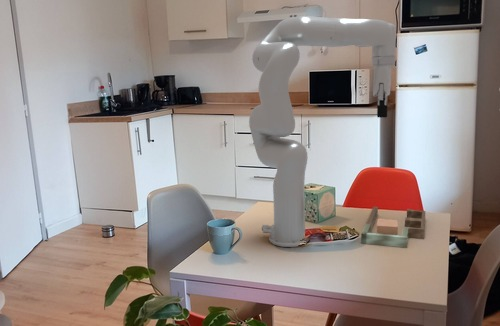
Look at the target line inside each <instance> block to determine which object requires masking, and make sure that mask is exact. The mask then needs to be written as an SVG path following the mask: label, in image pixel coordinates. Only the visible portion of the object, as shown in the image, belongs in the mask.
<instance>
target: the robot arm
mask: <svg viewBox="0 0 500 326" xmlns="http://www.w3.org/2000/svg"><path fill="white" fill-rule="evenodd" d="M396 33H397V27H396V25H395V24H394V23H389V22H388V21H385V20H384V19H383V20H382V19H381V20H380V19H371V18H370V19H368V18H367V19H366V18H347V17H345V18H341V17H337V18H336V17H325V16H314V15H313V16H312V15H300V16H294V17H288V18H284V19H283V20H281V21H280V22H279V23H277V24H276V26H275V27H273V28H272V29H271V30H270V31H269V33H267V35H265V37H264V38H263V39H262V40H261V41H260V42H259V43H258V44H257V45H256V47H255V48H254V51H253V53H252V59H251V60H252V63H253V66H254V67H255V68H256V70H258V71H260V72H262V73H261V75H260V78H259V81H258V82H259V83H258V96H259V100H260V104H258V105H256V106H255V107H254V108H253V109H252V110H251V112H250V115H249V120H248V124H249V130H250V134H251V137H252V138H251V139H252V141H253V146H254V149H255V152H256V155H257V157H258V158H257V159H258V160H259V161H260V162H261V163H262V164H263V165H264V166H265V167H270V168H273V169H276V173H275V176H274V179H273V183H272V188H273V189H272V192H273V193H272V194H273V196H272V197H273V224H272V225H268V224H262V225H261V231H262V232H263V234H270V235H269V239H268V240H269V242H270V243H271V244H273V245H274V246H277V247H281V248H282V247H283V248H297V247H299V246H298V244H300V243H304V242H306V241H300V240H302V239H303V238H304V237H305V233H306V214H305V213H306V209H305V207H306V205H305V202H306V201H305V199H306V198H305V179H306V177H305V176H306V169H307V164H308V157H309V156H308V152H307V149H306V147H305V145H303V143H301V142H300V141H297V140H294V139H289V138H286V137H289V136H290V135H292V134H293V133H294V131H295V128H296V121H295V115H294V111H293V110H294V109H293V107H292V101H291V98H290V94H289V93H290V92H289V81H290V78H291V76H292V74H293V72H294V70H295V69H296V67H297V65H298V64H299V61H300V58H301V57H300V54H301V53H300V49H299V48H298V47H300V46H301V47H302V46H304V47H305V46H307V47H330V48H331V47H332V48H335V47H336V48H337V47H340V48H341V47H349V46H350V47H351V46H355V47H358V48H367V47H368V48H369V47H371V68H372V67H373V69H374V70H373V71H374V72H373V84H372V85H373V86H372V96H373V97H377V108H376V109H377V110H376V117H377V118H388V96H390V95H391V85H392V67H396V46H397V45H396V44H397V43H396V41H397V40H396V39H397V35H396Z"/></svg>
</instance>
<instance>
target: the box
mask: <svg viewBox="0 0 500 326" xmlns="http://www.w3.org/2000/svg"><path fill="white" fill-rule="evenodd" d="M378 210H379V208H378V206H373V207H372V209H371V212H370V214H369V216H368V218H367V221H366V222H365V224H364V227H363V229H362V232H361V234H360V235H361V237H360V238H361V239H360V243H361V244H364V245H366V244H367V245H376V246H386V247H397V248H408V242H409V238H410V239H411V238H412V239H420V240H421V239H423V240H424V238H425V226H426V225H425V224H426V210H416V209H415V210H414V209H412V208H407V209H406V217H405V218H404V226H403V227H402V232H401V235H399V234H398V235H388V234H377V232H374V233H373V232H372V230H373V229H374V225H375V223H376V220H377V219H378Z"/></svg>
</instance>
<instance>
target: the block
mask: <svg viewBox="0 0 500 326" xmlns="http://www.w3.org/2000/svg"><path fill="white" fill-rule="evenodd" d="M376 220H377V223H376V233H377V234H388V235H399V234H398V232H399V231H398V227H399V225H398V219H391V218H390V219H389V218H388V219H387V218H377V219H376Z"/></svg>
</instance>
